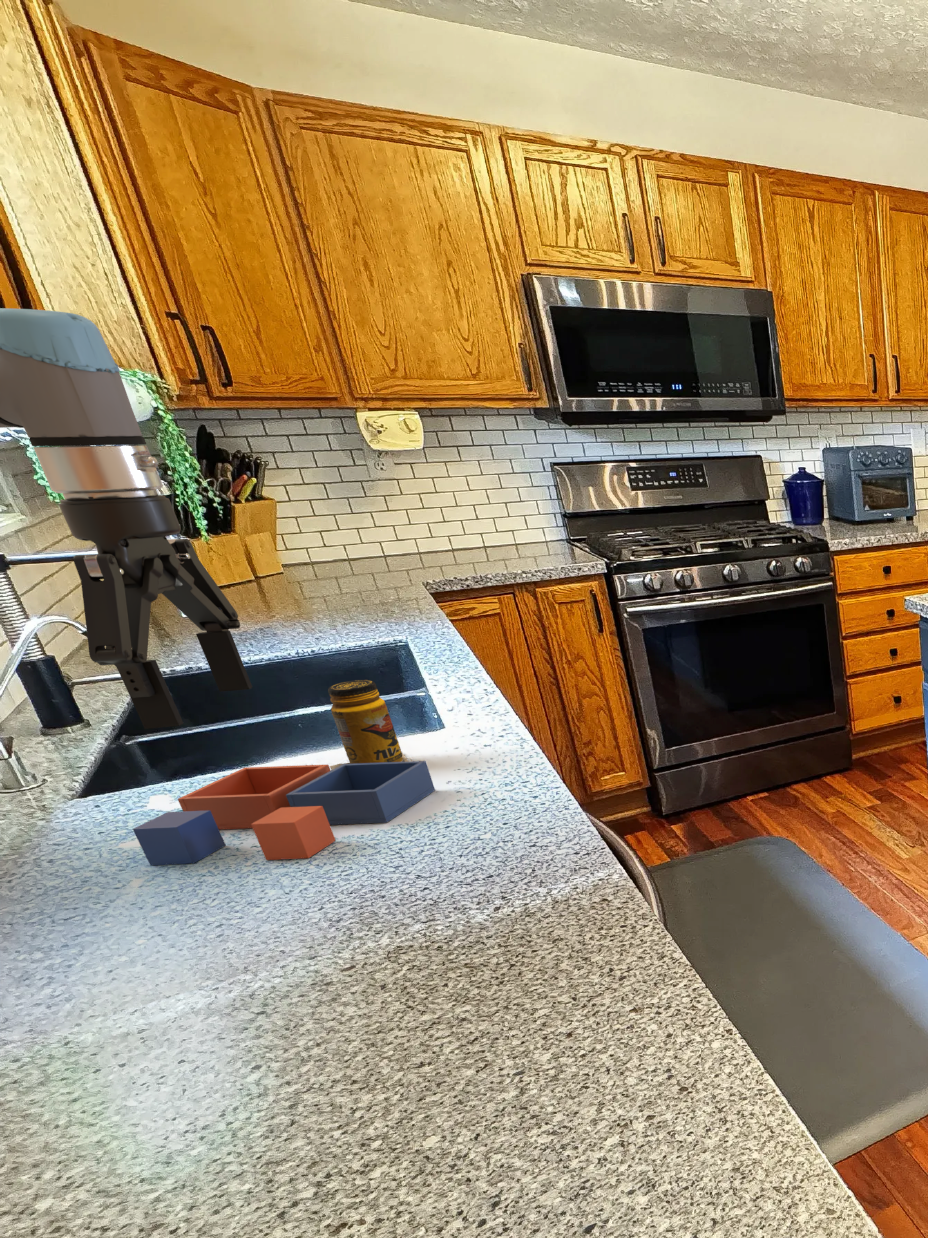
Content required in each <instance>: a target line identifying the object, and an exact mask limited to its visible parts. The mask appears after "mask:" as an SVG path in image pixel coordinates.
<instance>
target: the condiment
mask: <svg viewBox="0 0 928 1238" xmlns="http://www.w3.org/2000/svg"><path fill="white" fill-rule="evenodd" d="M327 693H328V695H329V697H330V702H331V703H332V705H331V708H330V712H331V715H332V719H333V721H334V723H335V725H336V728H337V731H338V734H339V736H340V740H341V742H342V746H343V748H344V750H345V754H346V757H347V759H348V762H345V763H337V764H333V765H329V768H330V770H333V769H335V768H337V767H339V766H340V765H342V764H354V763H381V762H409V761H410V760H408V758H407V757H406V756H405V754H404V753H403V751H402V749H401V746H400V742H399V740H398V737H397V733H396V731H395V728H394V727H395V726H394V724H393V721H392V718H391V716H390V713H389V709H388V706H387V704H386V702H385V701H386V700H384V699H383V698H381V697H380V692H379V691H378V687H377V684H376V682H374V681H373V680H370V679H369V680H368V679H355V680H349V681H348V680H347V681H343V682H339V683H335V684H333V685H330V686H329V687H328V689H327Z"/></svg>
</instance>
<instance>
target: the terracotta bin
mask: <svg viewBox="0 0 928 1238" xmlns="http://www.w3.org/2000/svg"><path fill="white" fill-rule="evenodd" d="M329 771H331V768H330V765H329V764H306V765H305V764H304V765H303V764H302V765H300V764H299V765H275V766H251V767H248V766H247V767H243V768H240V769H238V770H236V771H234V772H232V773H230V774H227V775H226V776H223V777H221V778H220V779H217V780H215V781H213V782H210V783H209V784H206V785H204V786H202V787H199V788H198V789H196V790H194V791H192V792H189V793H187V794H185V795H183V796H181V797H179V798H177V801H178V803H179V805H180V808H181V810H182V811H206V810H210V811H211V813H212V815H213V818H214V820H215V822H216V824H217V827H218V829H219V831H222V830H242V829H243V830H245V829H253V828H252V825H251V824H252V823H254V822H256V821H258V820H259V819H261V818H263V817H265V816H267V815H269V814H270V813H272V812H274V811H276V810H278V809H279V808H283V807H290V804H289V802H288V799H287V797H286V794H288V793H290V792H292V791H294V790H296V789H297V788H299V787H301V786H303V785H305V784H307V783H309V782H311V781H312V780H314V779H316V778H318V777H320V776H322V775H324V774H326V773H327V772H329Z"/></svg>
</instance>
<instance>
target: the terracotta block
mask: <svg viewBox="0 0 928 1238" xmlns="http://www.w3.org/2000/svg"><path fill="white" fill-rule="evenodd" d="M251 825H252V828H251V829H252V830H253V832H254V835H255V837H256V839H257V841H258V844H259V847H260V849H261V852H262V854H263V856H264V859H265V861H279V860H299V859H300V860H302V859H303V860H304V859H310V858H312V857H313V856H315V855H316V854H317V853H319V852H321V851H322V850H324V849H325V848H326V847H329V846H330V845H331V844H333V843H335V842H336V838H335V835H334V832H333V830H332V827H331V825H330V824H329V822H328V819H327V816H326V814H325V811H324V809H323V806H308V807H283V808H279V809H278V810H276V811H274V812H272V813H270V814H269V815H267V816H265V817H263V818H261V819H259V820H258V821H256V822H254V823H252V824H251Z"/></svg>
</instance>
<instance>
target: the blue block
mask: <svg viewBox="0 0 928 1238" xmlns="http://www.w3.org/2000/svg"><path fill="white" fill-rule="evenodd" d="M132 830H133V834H134V835H135V838H136V839H137V841H138V844H139V845H140V848H141V849H142V851H143V854H144V856H145V858H146V861H147V862H148V864H149V866H171V865H189V864H190V863H192V865H193V864H195V863H197V862H199V861H201V860H202V859H204V858H206V857H208V856H209V855H211V854H213V853H215V852H217V851H218V850H221V849H222V848H224V847H226V846H227V844H226V842H225V840H224V838H223V836H222V834H221V833H222V832H220V831H221V830H219V829H218V827H217V824H216V822H215V820H214V818H213V815H212V813H211V811H210V810H206V811H183V810H182V811H167V812H165V813H163V814H161V815H159V816H157V817H155V818H152V819H150V820H148V821H146V822H144V823H142V824H140V825H138V826H136V827H134V828H132Z"/></svg>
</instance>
